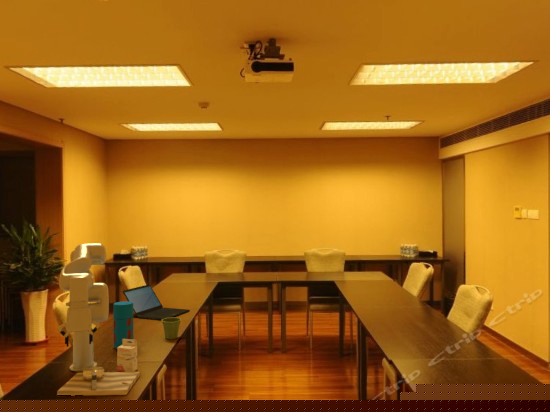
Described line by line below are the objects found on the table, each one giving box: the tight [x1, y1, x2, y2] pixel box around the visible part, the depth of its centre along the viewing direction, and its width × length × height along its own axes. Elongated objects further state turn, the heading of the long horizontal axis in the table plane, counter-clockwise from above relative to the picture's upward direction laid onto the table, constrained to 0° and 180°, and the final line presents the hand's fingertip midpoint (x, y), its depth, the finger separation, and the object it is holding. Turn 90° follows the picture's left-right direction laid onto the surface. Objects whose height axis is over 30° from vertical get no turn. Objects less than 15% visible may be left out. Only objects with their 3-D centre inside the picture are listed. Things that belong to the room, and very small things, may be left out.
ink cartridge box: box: [116, 339, 138, 372], centre depth 226 cm, size 9×5×15 cm, turn 77°
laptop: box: [122, 284, 190, 321], centre depth 347 cm, size 33×38×19 cm
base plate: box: [56, 371, 141, 397], centre depth 207 cm, size 22×29×2 cm
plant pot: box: [161, 317, 182, 340], centre depth 282 cm, size 12×12×11 cm
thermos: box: [112, 300, 134, 350], centre depth 265 cm, size 11×11×25 cm
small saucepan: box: [82, 366, 105, 389], centre depth 206 cm, size 20×9×6 cm, turn 22°
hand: (78, 344), depth 200 cm, fingers open, 8 cm apart
